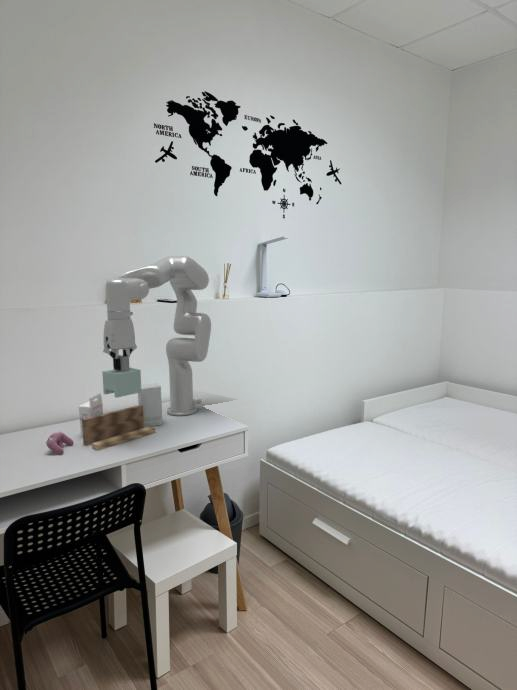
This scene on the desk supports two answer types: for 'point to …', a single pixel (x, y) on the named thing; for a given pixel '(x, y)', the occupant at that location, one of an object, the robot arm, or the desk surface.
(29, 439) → the desk surface
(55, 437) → the video game controller
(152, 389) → the skincare box
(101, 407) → the ink cartridge box
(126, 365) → the mint green block
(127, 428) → the curved brown board
